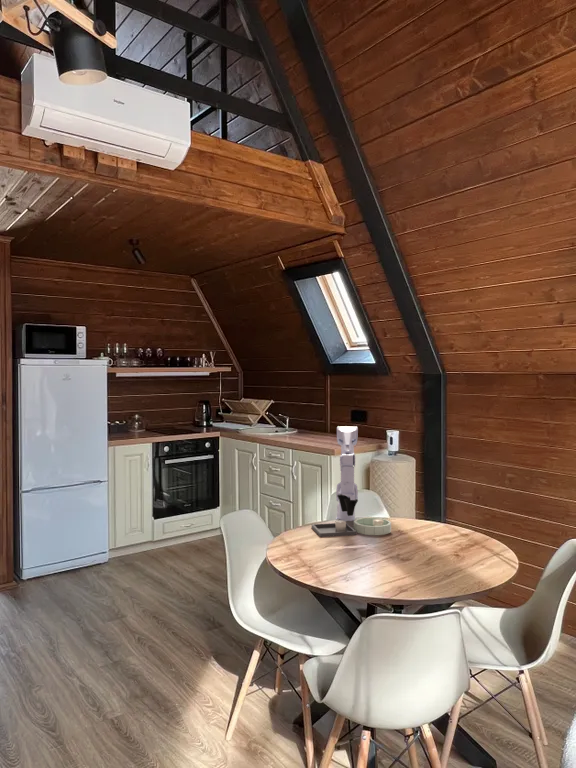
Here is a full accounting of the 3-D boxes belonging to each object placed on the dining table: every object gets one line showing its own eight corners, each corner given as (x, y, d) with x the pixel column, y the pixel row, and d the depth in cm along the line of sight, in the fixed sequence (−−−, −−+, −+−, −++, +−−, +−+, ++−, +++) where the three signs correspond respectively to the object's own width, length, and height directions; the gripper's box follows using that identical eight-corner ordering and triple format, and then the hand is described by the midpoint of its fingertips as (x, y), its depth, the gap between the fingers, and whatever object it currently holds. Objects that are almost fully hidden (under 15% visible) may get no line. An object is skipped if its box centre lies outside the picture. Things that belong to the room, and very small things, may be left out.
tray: (311, 529, 252) (311, 524, 252) (345, 528, 255) (345, 522, 255) (320, 539, 238) (320, 533, 238) (356, 537, 241) (356, 531, 241)
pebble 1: (334, 529, 249) (334, 520, 249) (344, 529, 250) (344, 519, 250) (337, 532, 245) (337, 523, 244) (347, 531, 245) (347, 522, 245)
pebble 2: (371, 528, 251) (371, 519, 251) (381, 528, 252) (381, 518, 252) (375, 531, 247) (375, 522, 246) (384, 530, 247) (385, 521, 247)
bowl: (349, 528, 255) (349, 518, 255) (382, 526, 258) (382, 516, 258) (361, 538, 239) (361, 527, 239) (396, 536, 243) (396, 525, 243)
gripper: (333, 479, 253) (333, 509, 253) (343, 485, 239) (343, 518, 239) (348, 478, 255) (348, 509, 255) (360, 484, 241) (359, 517, 241)
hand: (347, 513), depth 247 cm, fingers open, 7 cm apart
